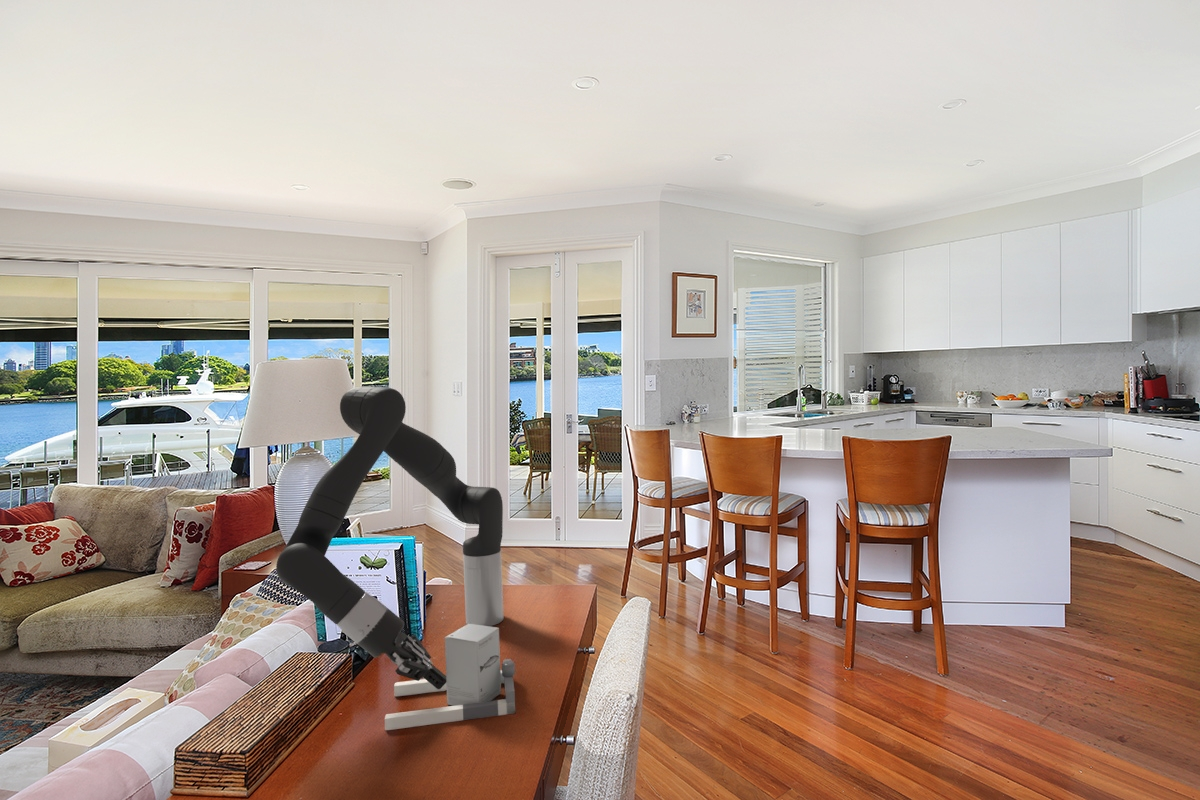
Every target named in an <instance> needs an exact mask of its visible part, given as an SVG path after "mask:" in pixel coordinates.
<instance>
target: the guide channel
mask: <svg viewBox="0 0 1200 800" xmlns="http://www.w3.org/2000/svg"><path fill="white" fill-rule="evenodd" d="M502 661H503V662H502V663H501V669H500V673H501V685H502V684H504V695H505V696H504V697H505V698H504V699H496V700H491V701H487V702H479V703H471V704H463V705H456V706H453V705H449V706H442V707H441V706H440V707H434V708H427V709H418V710H411V711H410V710H409V711H403V712H395V713H386V714H385V716H384V731H392V730H398V729H399V730H400V729H405V728H406V729H407V728H414V727H415V728H416V727H421V726H427V725H429V726H430V725H437V724H444V723H452V722H459V721H466V720H475V719H483V718H490V717H496V716H505V715H511V714H512V715H513V714H516V695H515V694H516V692H515V684H514V676H516V664H515V661H512V658H506V659H503V660H502ZM393 687H394V688H393V692H394V697H396V698H397V697H402V696H412V695H418V694H419V695H420V694H426V693H427V694H428V693H436V692H444V691H447V685H446V683H445V684H444V685H443V687H442V688H441V689H437V688H436V687H434V686H433V685H432V684H431V683H429V682H428V681H427V680H426V679H425V678H423V679H420V680H419V681H417V680H414V679H412V680H405V681H397V682H395V683H394V686H393Z"/></svg>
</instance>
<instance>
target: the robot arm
mask: <svg viewBox="0 0 1200 800" xmlns="http://www.w3.org/2000/svg"><path fill="white" fill-rule="evenodd" d="M406 407H407V406H406V401H405V398H404V396H403V395H402V393H401V392H400V391H398V390H397V389H394V388H391V387H386V386H385V387H384V386H369V385H368V386H367V385H366V386H365V385H364V386H356V387H353V388H350V389H349V390H347V391H346V392H344V394H343V395H342V397H341V399H340V404H339V411H340V415H341V418H342V420H343V422H344V424H346V426H347V427H348V428H350V429H351V430H352V431H354V432H355V433H356V434H358V437H357V439H355V442H354V443H353V445H352V446H351V447H350V448H349V450H348V451H347V452H346V453H345V454H344V455H343V456H342V457H341V458H340V459H339V460H338V461H336V463H334V464H333V465H332V466H331V468H329V469H328V470H327V471H326V472H325V473H324V474H323V475H322V477H320V479H319V481H318V482H317V483H316V485H315V486H314V489H313V490H312V492H311V494H310V496H309V497H308V499H307V502H306V504H305V505H304V508H303V509H302V513H301V514H300V517H299V521H298V524H297V526H296V528H295V529H294V531H293V533H292V535H291V537H289V540H288V542H287V544H286V545H285V546H284V548H283V550H282V551H281V553H280V554H279V556H278V557H277V561H276V564H275V565H276V567H275V570H276V575H277V577H278V579H279V580H280V581H281V582H282V583H284V584H285V585H287V586H290V587H292V588H293V589H295V590H296V591H297V592H298V593H300V595H302V596H304V597H305V598H306V599H308V601H310V602H312V603H313V604H314V606H315V607H316V609H318V610H319V611H320V612H321V613H322V615H324V616H325V617H326V618H327V619H329V620H330V621H331V622H332V623H334V624H335V625H336V626H337V627H338V628H339V629H340V630H341V631H342V632H343V633H344V634H345V635H346V636H347V637H348V638H349V639H351V640H352V641H353V642H354V643H355V644H357V645H358V646H359V647H361V648H362V649H364V651H366V652H367V653H368V654H370V655H371V656H372V657H373V658H378V657H380V656H381V655H383V654H385V655H386V656H387V657H388V658H389V660H390V661H391V662H392V663H393V664H394V665H395V666H397V668H396V669H395V673H396V674H397V675H399V676H401V677H403V678H408V679H411V680H417V681H419V680H421V679H426V680H427V681H428V682H429V683H431V684H432V685H433V686H434V687H436V688H437V689H441V688H442V687H443V685H444V684H445V683H446V674H444V673H443V672H442V671H441V670H440V669H438V668H437V667H436V665H435V666H434V663H433V661H432V660H431V658H432V656H431V655H430V653H429V652H428V650H427V649H426V648H425V646H424V644H422V642H421V641H420V639H419V638H418V637H417V635H415V634H412V635H407V634H406V633H404V632H402V630H403V629H404V627H405V621H404V620H403V619H402V618H400V617H399V616H398V615H397V614H396V613H394V612H393V611H392V610H391V609H389V608H388V607H387V606H386V605H385V604H383V603H382V602H381V600H378V599H377V598H376V597H375V596H373V595H371V594H369V593H368V592H367V591H365V590H364V589H363V588H362V587H360V586H359V585H358V584H356V583H355V582H354V581H353V580H352V579H350V578H349V577H348V576H346V575H344V574H343V573H342V572H341V571H340V570H339V569H338V568H337V567H336V565H335V564H333V563H332V561H331V560H329V559H328V558H327V556H326V554H327V552H328V550H329V547H330V544H331V543H332V540H333V538H334V537H335V535H336V534H337V532H338V530H339V529H340V527H341V526H342V524H343V521H344V520H345V517H346V516H347V513H348V511H349V509H350V507H351V505H352V503H353V500H354V498H355V497H356V495H357V492H358V491H359V489H360V487H361V486H362V484H363V482H364V480H365V479H366V477H367V476H368V475H369V472H371V470H372V468H373V467H374V465H375V464H376V463H377V461H378V460H379V458H380V456H381V455H382V454H383V453H385V454H386V455H387V456H388V457H389V458H391V459H392V460H393V461H394V462H395V463H396V464H397V465H399V466H400V467H401V468H402V469H404V470H405V471H406V472H407V474H409V476H411V477H412V478H413V479H414V480H415V481H416V482H418V483H420V485H422V486H424V487H425V489H427V490H429V492H430V493H431V494H432V495H434V496H435V497H436V498H438V499H439V500H440V501H441V502H442V504H443V505H444V506H445V507H446V508H447V510H449V512H451V514H452V515H453V516H454V517H455V518H456V519H457V520H458V521H459V522H461V523H463V524H467V525H478V534H477V535H475V536H472V537H469V538H468V539H465V540H464V541H463V543H462V559H463V560H462V561H463V562H462V563H463V564H462V565H463V581H464V582H463V583H464V584H463V585H464V608H465V625H467V624H476V625H483V626H490V627H493V626H495V625H497V624H500V623H501V622H502V621H504V619H505V618H504V598H503V597H504V593H503V592H504V591H503V574H502V573H503V570H502V569H503V567H502V549H501V548H502V547H501V545H502V544H501V543H502V540H503V529H504V528H503V525H504V524H503V522H504V521H503V518H504V517H503V516H504V515H503V514H504V507H503V506H504V505H503V497H502V494H501V493H500V491H499V490H498V488H495V487H492V486H491V487H490V486H471V485H468V484H466V483H465V482H463V481H462V480H460V478H459V477H457V464H456V460H455V459H454V457H453V455H452V454H451V453H450V452H449V451H448V450H447V449H446V448H445V447H444V446H443V445H442V444H441V442H439V441H437V440H436V439H434V438H433V437H431V436H430V435H428V434H427V433H425V432H422V431H420V430H418V429H416V428H414V427H412V426H411V425H408V424H405V423H404V422H403V421H404V418H405V414H406Z"/></svg>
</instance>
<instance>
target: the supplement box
mask: <svg viewBox="0 0 1200 800" xmlns="http://www.w3.org/2000/svg"><path fill="white" fill-rule="evenodd" d="M500 652H501V651H500V628H499V627H495V626H483V625H476V624H465V625H464V626H461V627H460V628H459V629H456V630H455V631H453V632H452V633H450V634H448V635H446V636H445V637H444V655H445V656H444V657H445V675H446V685H447V690H446V704H447V705H449V706H456V705H463V704H471V703H479V702H487V701H493V700H494V699H496V697H497V696H499V695H500V694H501V693H502V684H501V673H500V670H501V653H500Z"/></svg>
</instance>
